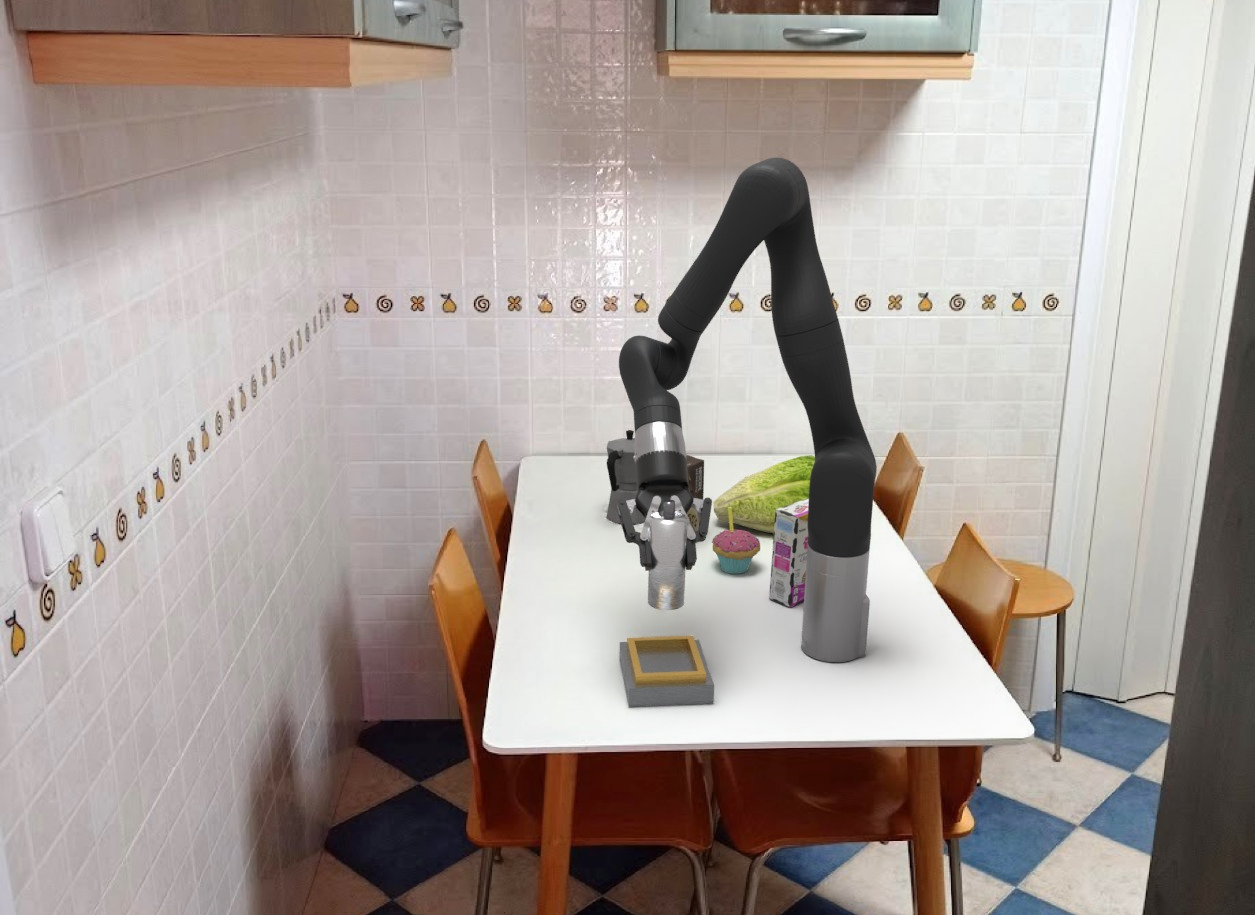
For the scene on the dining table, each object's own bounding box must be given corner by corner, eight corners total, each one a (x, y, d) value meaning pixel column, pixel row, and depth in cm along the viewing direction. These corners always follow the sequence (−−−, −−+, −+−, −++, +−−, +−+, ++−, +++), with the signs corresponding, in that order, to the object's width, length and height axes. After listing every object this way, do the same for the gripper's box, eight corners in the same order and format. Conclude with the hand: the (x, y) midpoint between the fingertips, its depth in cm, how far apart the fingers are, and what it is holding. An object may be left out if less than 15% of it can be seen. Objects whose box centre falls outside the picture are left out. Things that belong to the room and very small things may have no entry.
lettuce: (725, 564, 229) (731, 543, 245) (849, 529, 224) (848, 510, 240) (701, 492, 228) (709, 475, 243) (826, 455, 223) (826, 440, 238)
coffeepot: (622, 502, 247) (623, 418, 241) (664, 510, 243) (666, 425, 237) (586, 527, 234) (586, 438, 228) (630, 535, 230) (631, 446, 224)
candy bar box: (791, 609, 200) (797, 517, 195) (768, 600, 203) (773, 509, 198) (832, 590, 207) (838, 501, 202) (808, 581, 211) (814, 493, 205)
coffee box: (676, 531, 232) (678, 451, 227) (703, 539, 228) (706, 459, 223) (646, 545, 226) (648, 463, 220) (674, 553, 222) (676, 471, 217)
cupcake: (701, 568, 215) (703, 505, 212) (731, 555, 221) (733, 494, 218) (739, 582, 210) (742, 518, 206) (768, 568, 216) (772, 505, 212)
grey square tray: (697, 657, 183) (698, 632, 182) (713, 703, 170) (714, 677, 169) (619, 660, 182) (619, 635, 181) (628, 707, 169) (629, 680, 167)
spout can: (681, 594, 175) (685, 494, 170) (686, 609, 170) (690, 508, 165) (645, 595, 174) (648, 495, 169) (650, 610, 169) (653, 508, 164)
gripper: (613, 448, 172) (620, 559, 164) (713, 447, 173) (724, 557, 166) (609, 471, 178) (616, 579, 171) (705, 470, 180) (715, 576, 172)
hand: (669, 567), depth 168 cm, fingers closed on spout can, 5 cm apart
